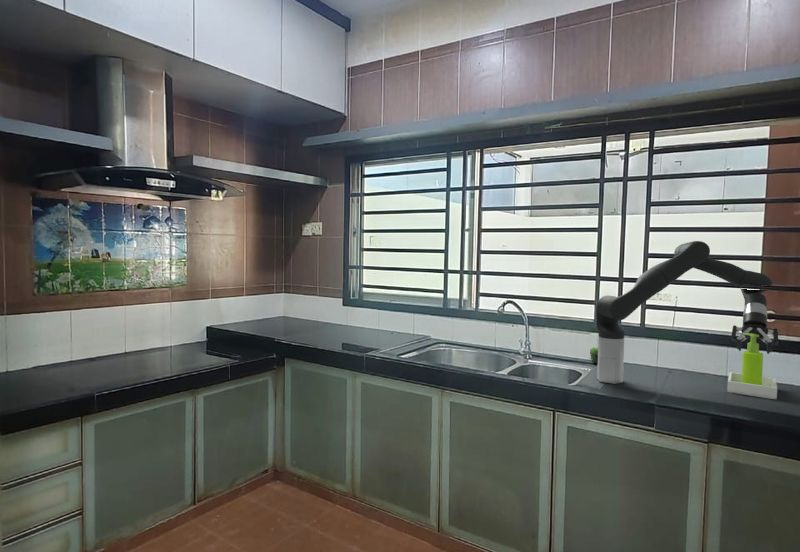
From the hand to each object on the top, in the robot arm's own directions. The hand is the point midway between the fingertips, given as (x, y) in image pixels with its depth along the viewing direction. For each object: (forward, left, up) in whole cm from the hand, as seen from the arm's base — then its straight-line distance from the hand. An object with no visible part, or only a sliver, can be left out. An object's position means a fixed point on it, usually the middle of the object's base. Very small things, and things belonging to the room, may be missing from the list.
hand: (753, 351), depth 176 cm
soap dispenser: (-6, +1, -13) cm, 14 cm away
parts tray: (-6, 0, -14) cm, 15 cm away
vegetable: (+8, +57, -14) cm, 60 cm away
